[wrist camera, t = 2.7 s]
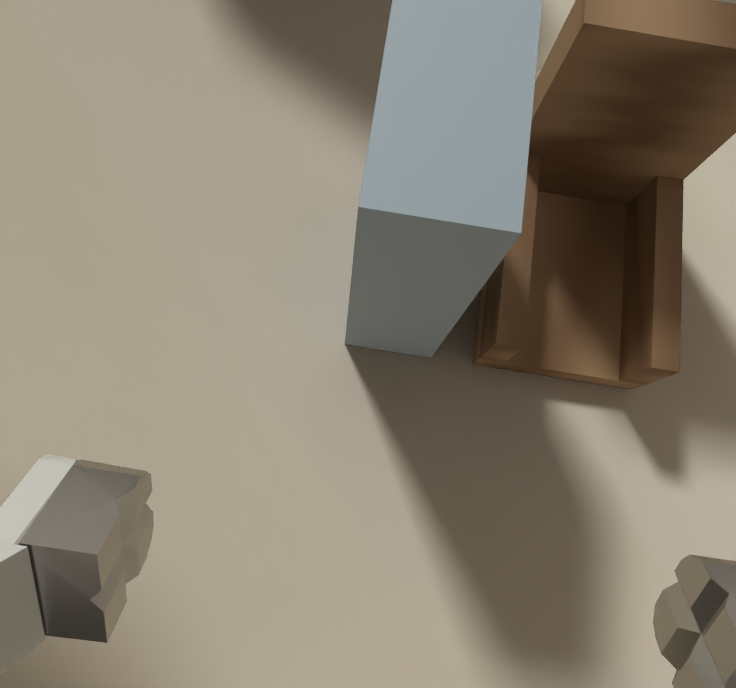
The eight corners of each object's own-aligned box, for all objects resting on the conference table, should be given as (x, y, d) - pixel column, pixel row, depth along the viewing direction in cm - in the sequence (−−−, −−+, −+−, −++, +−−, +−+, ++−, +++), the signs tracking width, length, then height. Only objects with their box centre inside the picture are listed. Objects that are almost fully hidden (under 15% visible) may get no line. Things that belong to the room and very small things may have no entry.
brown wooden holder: (473, 364, 25) (565, 277, 15) (494, 165, 27) (586, -22, 17) (631, 389, 25) (824, 319, 15) (639, 189, 27) (812, 17, 17)
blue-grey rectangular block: (344, 344, 25) (358, 206, 13) (366, 208, 26) (396, -24, 15) (431, 357, 25) (521, 233, 13) (448, 221, 26) (542, 1, 15)
